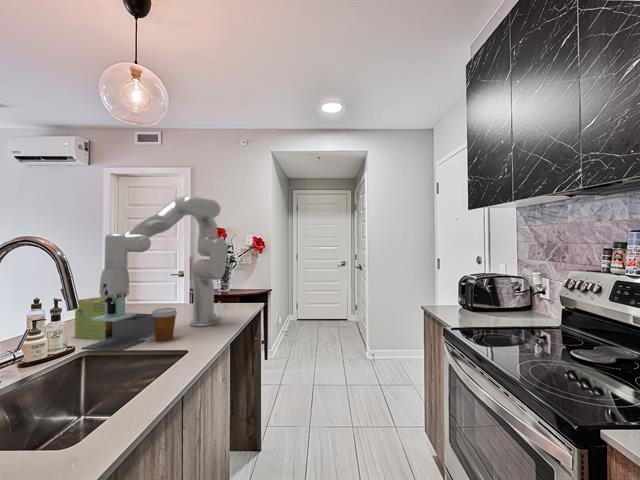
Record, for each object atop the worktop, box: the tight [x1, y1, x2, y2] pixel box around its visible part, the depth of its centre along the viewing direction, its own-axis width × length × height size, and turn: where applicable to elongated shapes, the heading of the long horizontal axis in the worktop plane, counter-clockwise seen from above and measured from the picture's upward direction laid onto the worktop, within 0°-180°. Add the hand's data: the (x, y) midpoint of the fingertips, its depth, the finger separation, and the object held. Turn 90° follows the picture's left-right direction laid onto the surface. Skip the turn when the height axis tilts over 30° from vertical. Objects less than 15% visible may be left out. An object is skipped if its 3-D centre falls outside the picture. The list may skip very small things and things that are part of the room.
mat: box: [81, 338, 147, 353], centre depth 128 cm, size 16×14×1 cm
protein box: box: [74, 296, 126, 341], centre depth 140 cm, size 10×15×16 cm
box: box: [112, 312, 155, 339], centre depth 141 cm, size 11×13×8 cm
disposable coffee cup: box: [151, 307, 178, 342], centre depth 135 cm, size 10×10×12 cm
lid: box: [91, 296, 138, 322], centre depth 128 cm, size 10×12×8 cm
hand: (115, 312), depth 128 cm, fingers closed on lid, 2 cm apart
